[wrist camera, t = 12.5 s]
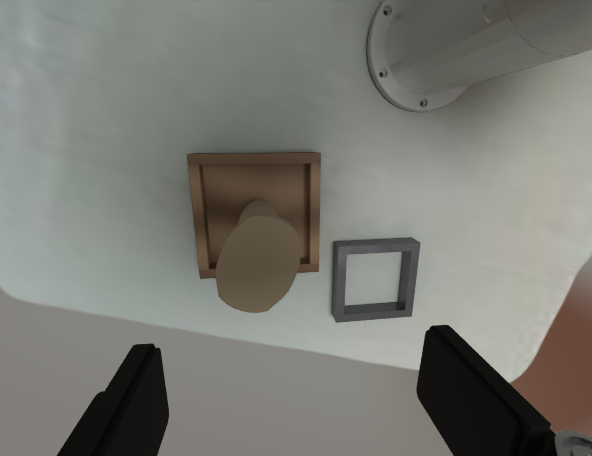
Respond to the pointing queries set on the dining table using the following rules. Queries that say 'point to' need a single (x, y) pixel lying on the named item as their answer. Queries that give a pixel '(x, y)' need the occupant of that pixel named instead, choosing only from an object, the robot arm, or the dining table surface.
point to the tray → (254, 198)
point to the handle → (258, 260)
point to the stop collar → (379, 310)
